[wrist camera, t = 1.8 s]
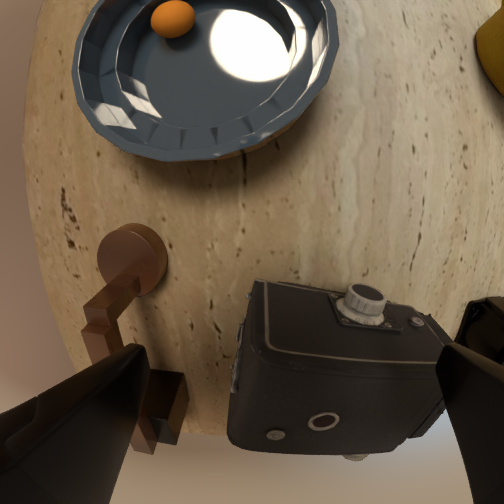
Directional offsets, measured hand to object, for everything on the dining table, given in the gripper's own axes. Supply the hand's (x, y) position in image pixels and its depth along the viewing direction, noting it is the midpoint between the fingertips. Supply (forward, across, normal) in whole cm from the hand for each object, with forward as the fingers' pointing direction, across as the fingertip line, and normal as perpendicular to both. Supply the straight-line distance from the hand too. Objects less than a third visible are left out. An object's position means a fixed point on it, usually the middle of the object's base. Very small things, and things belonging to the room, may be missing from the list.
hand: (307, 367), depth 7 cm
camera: (+14, -4, +7) cm, 16 cm away
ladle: (+14, +11, +8) cm, 19 cm away
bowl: (+14, +5, -13) cm, 19 cm away
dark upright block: (+14, +10, +15) cm, 23 cm away
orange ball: (+11, +8, -15) cm, 21 cm away
